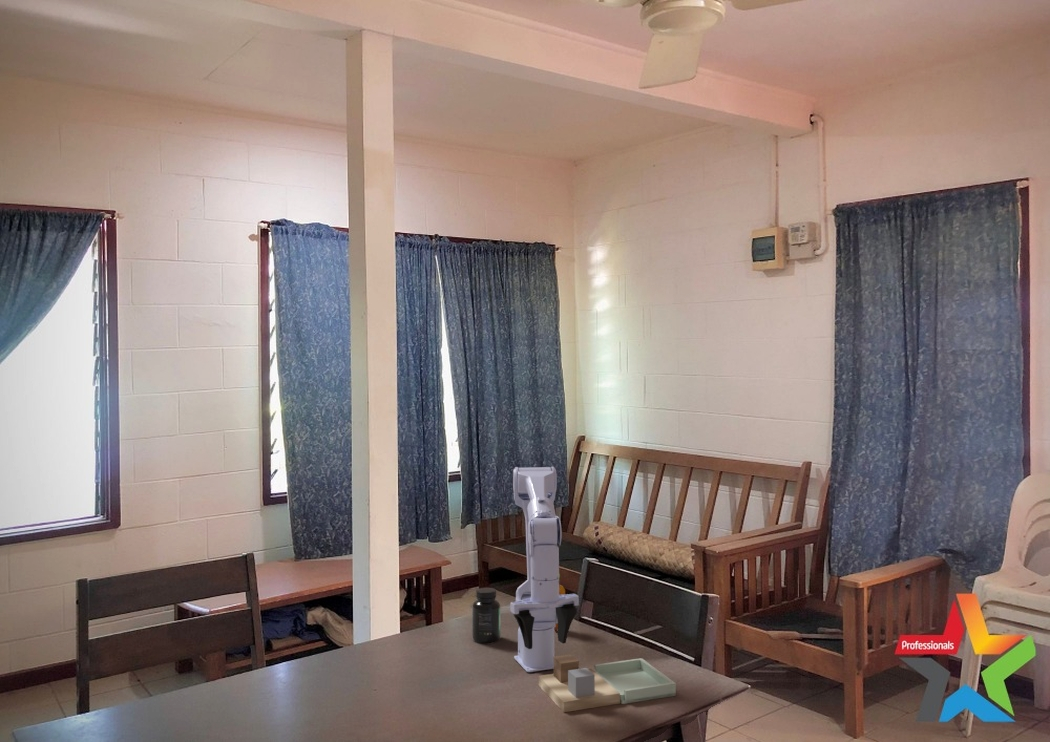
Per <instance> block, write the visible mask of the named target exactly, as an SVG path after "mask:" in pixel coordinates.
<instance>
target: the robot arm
mask: <svg viewBox="0 0 1050 742" xmlns="http://www.w3.org/2000/svg"><path fill="white" fill-rule="evenodd" d="M512 477H513V478H512V487H513V488H512V490H513V501H514V504H515V505H516V506H517V507H520V508H521V509H522V511H523V515H524V518H525V544H526V545H525V546H526V547H525V551H526V569H527V570H526V574H527V578H526V579H527V580H525V581H524V582H523V583H522V584H520V585H519V586H518V587H517V589H516V591H515V601H511V602H510V605H509V606H510V609H509V610H510V613H511V614H513V617H514V618H515V620H516V623H517V624H518V629H517V655H514V657H513V659H514V660H515V661H516V662H517V663H518V665H520V666H521V667H522V668H523V670H525V672H527V673H533V672H540V671H546V670H547V671H548V670H554V657H555V630H554V627H555V623H558V629H557V641H558V642H560V643H562V644H566V643H567V639H568V634H569V631H570V628H571V625H572V622H573V621H574V618H575V616H576V615H577V613H578V612H577V611H578V608H577V607H576V606H579V605H580V601H579V598H580V597H579V595H578V594H576V593H569V594H568V593H567V594H566V593H565V595H559V585H560V579H559V573H560V558H559V557H560V555H559V552H560V550H559V549H560V547H561V544H562V543H561V542H562V536H563V535H562V534H563V533H562V523H561V522H562V521H561V519H560V517H559V516H558V515H556V510H555V505H554V501H555V500H556V494H557V493H556V492H557V490H558V489H557V487H558V484H557V483H558V480H557V479H558V477H557V470H556V468H555V466H550V467H549V466H545V467H542V466H541V467H536V466H535V467H518V466H515V467H514V468H513V470H512Z"/></svg>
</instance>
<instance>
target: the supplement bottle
mask: <svg viewBox="0 0 1050 742" xmlns="http://www.w3.org/2000/svg"><path fill="white" fill-rule="evenodd" d="M475 594H476V595H475V599H476V600H475V601H474V602H473V603H472V604H471V605H472V606H471V607H472V608H471V610H472V611H471V613H472V614H471V616H472V619H471V620H472V622H471V623H472V624H471V625H472V628H471V629H472V630H471V631H472V636H471V637H472V640H473V641H474V642H475V643H478V644H485V645H487V644H495V643H497V642H499V641H500V640H501V633H502V632H501V603H500V601H499V600H497V589H495V588H493V587H481V588H480V587H479V588H478V589H476V592H475Z"/></svg>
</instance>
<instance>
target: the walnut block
mask: <svg viewBox="0 0 1050 742" xmlns="http://www.w3.org/2000/svg"><path fill="white" fill-rule="evenodd" d="M579 662H580V661H579V659H577V658H576V657H575V656H574V655H573V654H565V655H563V654H562V655H556V656H554V669H553V674H554V677H555V678H556V679H557V680H558V681H559V682H560V683H563V682H568V670H574V669H580V668H579V667H580V665H579Z"/></svg>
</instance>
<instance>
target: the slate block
mask: <svg viewBox="0 0 1050 742" xmlns="http://www.w3.org/2000/svg"><path fill="white" fill-rule="evenodd" d="M588 669H589V668H587V667H582V668H579V669H574V670H568V691H569V692H570V693H571V694H572V695H574V696H575V697H576V698H578V697H585V696H591V695H595V675H594V674H593V673H592V672H591V671H589V670H588Z"/></svg>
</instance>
